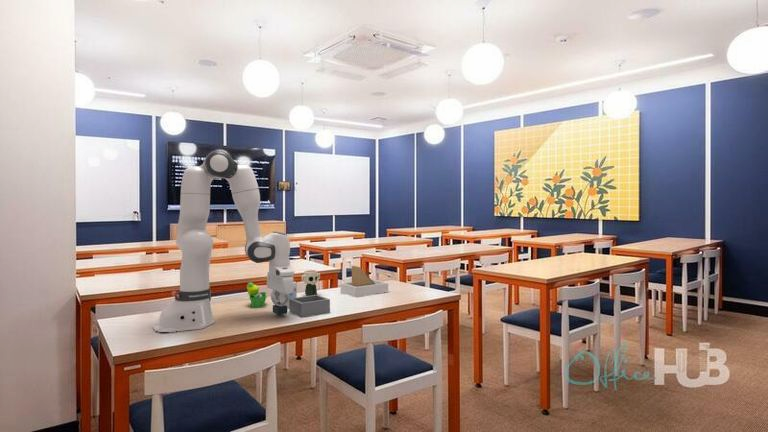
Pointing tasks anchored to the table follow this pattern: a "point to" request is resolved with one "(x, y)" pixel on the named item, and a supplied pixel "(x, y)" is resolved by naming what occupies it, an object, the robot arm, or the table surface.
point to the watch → (279, 308)
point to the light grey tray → (364, 288)
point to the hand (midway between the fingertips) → (279, 301)
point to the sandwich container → (360, 277)
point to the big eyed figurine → (311, 281)
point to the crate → (309, 305)
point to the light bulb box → (293, 295)
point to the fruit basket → (256, 295)
